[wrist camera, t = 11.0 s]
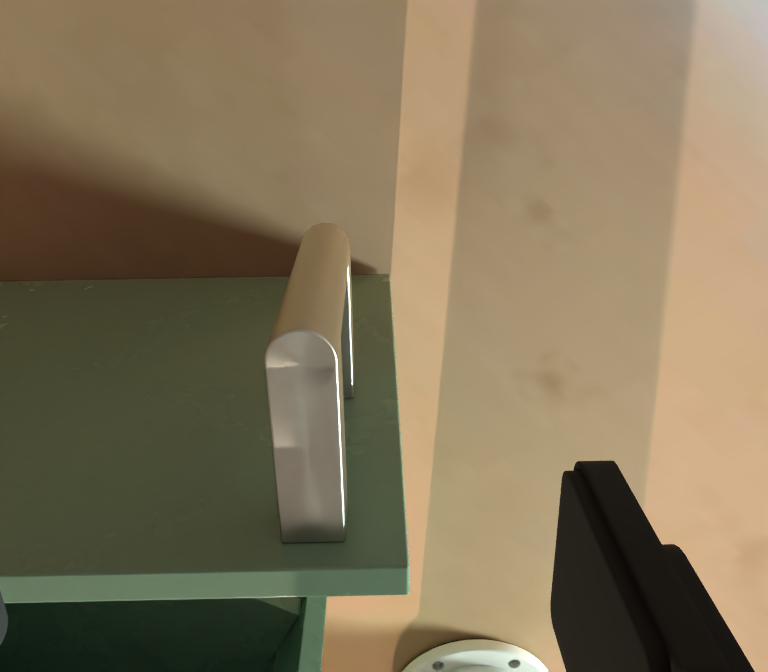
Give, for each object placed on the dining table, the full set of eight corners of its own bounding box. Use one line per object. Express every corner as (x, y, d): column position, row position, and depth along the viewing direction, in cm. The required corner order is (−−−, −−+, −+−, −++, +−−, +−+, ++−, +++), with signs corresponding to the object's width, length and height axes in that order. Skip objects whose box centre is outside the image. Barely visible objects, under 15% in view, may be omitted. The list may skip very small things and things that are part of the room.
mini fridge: (-36, 299, 41) (-520, 624, 19) (337, 466, 46) (304, 879, 24) (-107, 512, 47) (-539, 949, 25) (231, 639, 52) (124, 1100, 30)
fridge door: (-66, 167, 38) (-672, 364, 16) (388, 160, 38) (409, 344, 16) (-32, 298, 41) (-502, 615, 19) (390, 290, 41) (409, 595, 19)
